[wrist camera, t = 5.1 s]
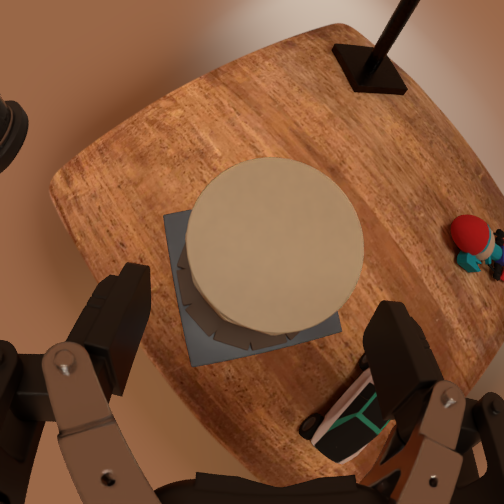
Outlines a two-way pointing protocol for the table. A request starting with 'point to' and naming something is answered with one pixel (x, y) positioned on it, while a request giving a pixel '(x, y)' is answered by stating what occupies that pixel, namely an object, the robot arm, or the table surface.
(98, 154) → the table surface
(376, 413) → the toy car
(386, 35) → the hat stand
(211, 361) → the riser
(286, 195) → the hat
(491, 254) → the toy figure
